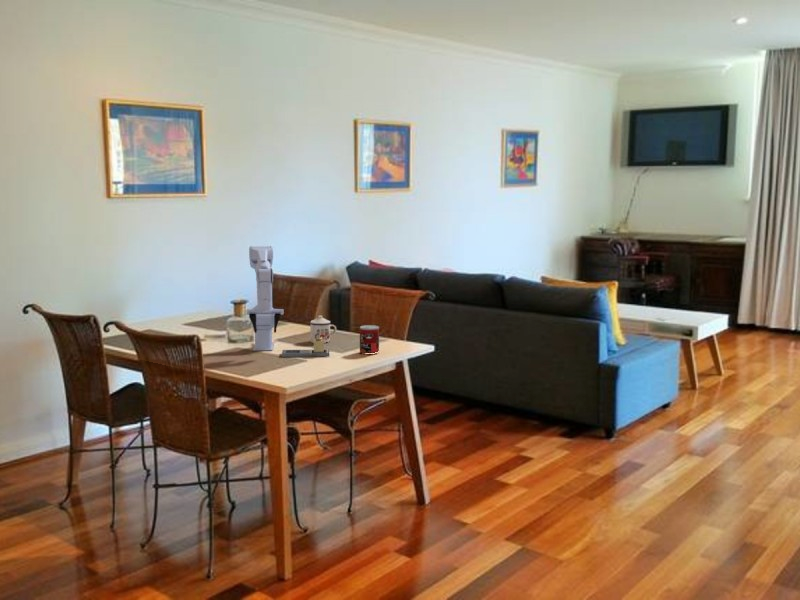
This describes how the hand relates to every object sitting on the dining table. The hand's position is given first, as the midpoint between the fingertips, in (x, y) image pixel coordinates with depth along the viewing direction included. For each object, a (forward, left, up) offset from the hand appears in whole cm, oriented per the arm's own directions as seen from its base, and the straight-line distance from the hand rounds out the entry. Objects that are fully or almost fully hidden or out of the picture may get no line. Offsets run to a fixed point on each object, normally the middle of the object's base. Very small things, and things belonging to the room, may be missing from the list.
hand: (265, 332), depth 315 cm
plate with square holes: (-2, +16, -10) cm, 19 cm away
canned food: (-5, +42, -10) cm, 43 cm away
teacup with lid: (-30, +23, -10) cm, 39 cm away
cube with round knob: (-2, +21, -10) cm, 24 cm away
